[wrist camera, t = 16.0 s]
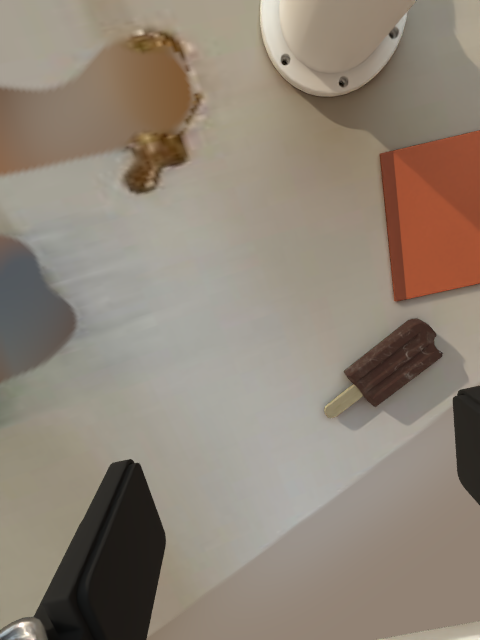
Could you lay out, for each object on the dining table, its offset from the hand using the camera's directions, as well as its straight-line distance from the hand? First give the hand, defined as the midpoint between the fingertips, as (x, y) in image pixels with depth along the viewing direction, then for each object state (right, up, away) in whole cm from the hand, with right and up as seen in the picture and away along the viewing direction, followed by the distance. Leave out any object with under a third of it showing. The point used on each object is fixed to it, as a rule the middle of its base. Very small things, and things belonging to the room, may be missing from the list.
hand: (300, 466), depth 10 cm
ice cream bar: (+14, -2, +30) cm, 34 cm away
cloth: (+19, +15, +26) cm, 35 cm away
